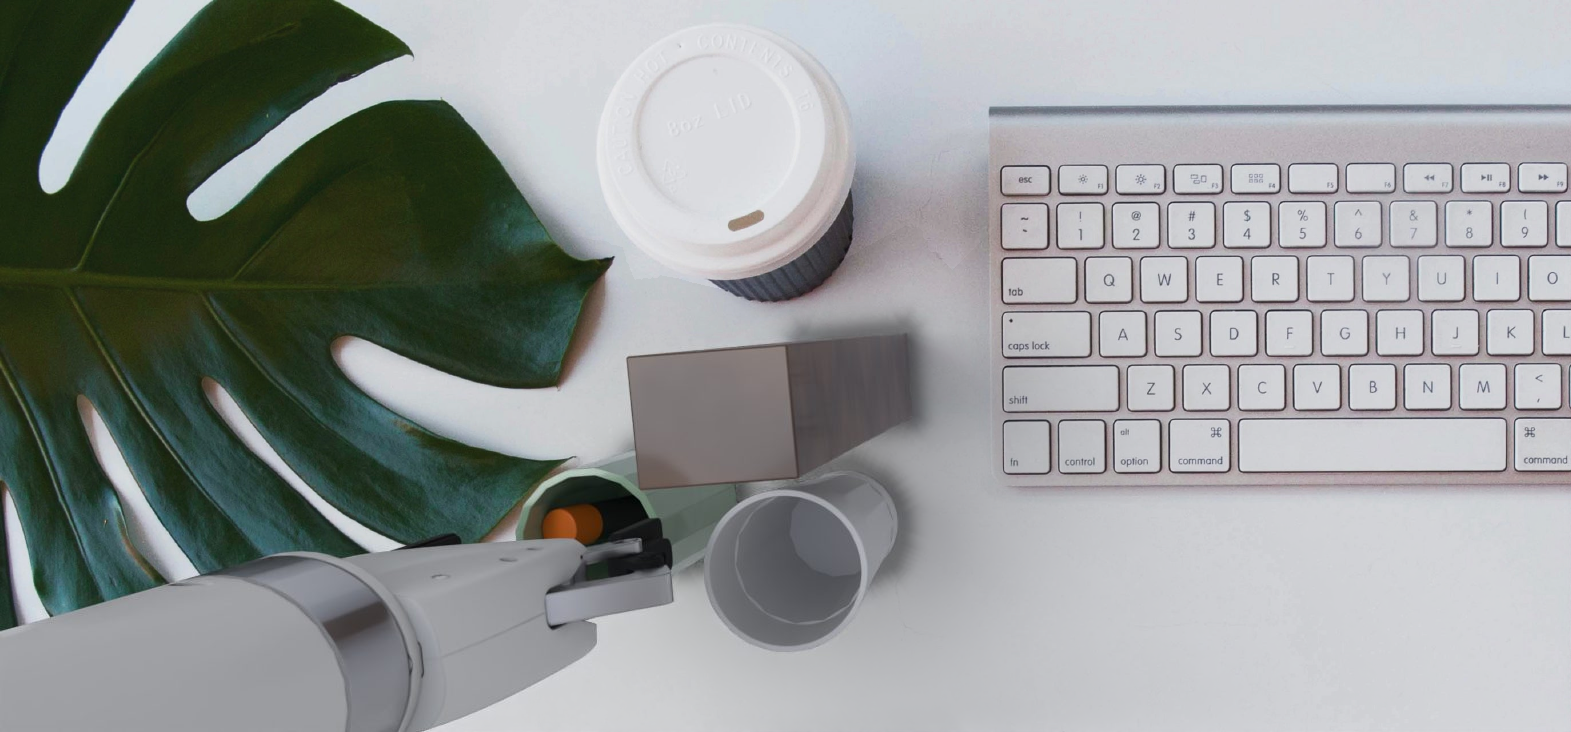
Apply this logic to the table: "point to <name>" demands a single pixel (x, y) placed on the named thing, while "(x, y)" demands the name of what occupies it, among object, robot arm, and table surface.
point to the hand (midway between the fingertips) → (556, 558)
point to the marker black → (593, 519)
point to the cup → (799, 559)
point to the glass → (679, 509)
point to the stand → (763, 408)
